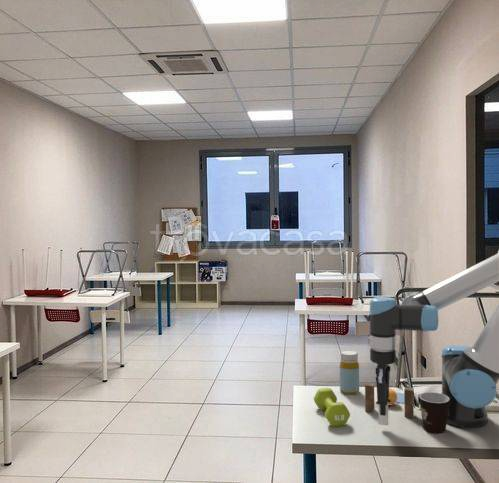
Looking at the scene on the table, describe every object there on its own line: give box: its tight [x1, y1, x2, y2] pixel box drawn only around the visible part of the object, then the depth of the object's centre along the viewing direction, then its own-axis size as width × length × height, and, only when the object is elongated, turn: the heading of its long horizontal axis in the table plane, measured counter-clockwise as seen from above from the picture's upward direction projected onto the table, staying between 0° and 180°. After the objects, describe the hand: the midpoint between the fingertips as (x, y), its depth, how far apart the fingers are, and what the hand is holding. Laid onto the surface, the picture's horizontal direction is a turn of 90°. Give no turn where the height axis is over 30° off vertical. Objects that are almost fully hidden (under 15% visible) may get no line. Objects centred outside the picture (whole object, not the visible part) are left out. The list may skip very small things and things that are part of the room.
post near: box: [403, 386, 415, 419], centre depth 159 cm, size 3×3×9 cm
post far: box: [364, 382, 375, 413], centre depth 164 cm, size 3×3×9 cm
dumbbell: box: [313, 387, 351, 428], centre depth 161 cm, size 16×8×7 cm, turn 8°
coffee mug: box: [417, 391, 449, 435], centre depth 151 cm, size 12×9×10 cm
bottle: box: [339, 349, 360, 396], centre depth 181 cm, size 7×7×15 cm
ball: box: [387, 387, 397, 406], centre depth 169 cm, size 6×6×6 cm
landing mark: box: [394, 391, 404, 404], centre depth 175 cm, size 9×9×1 cm
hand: (383, 423), depth 150 cm, fingers closed
